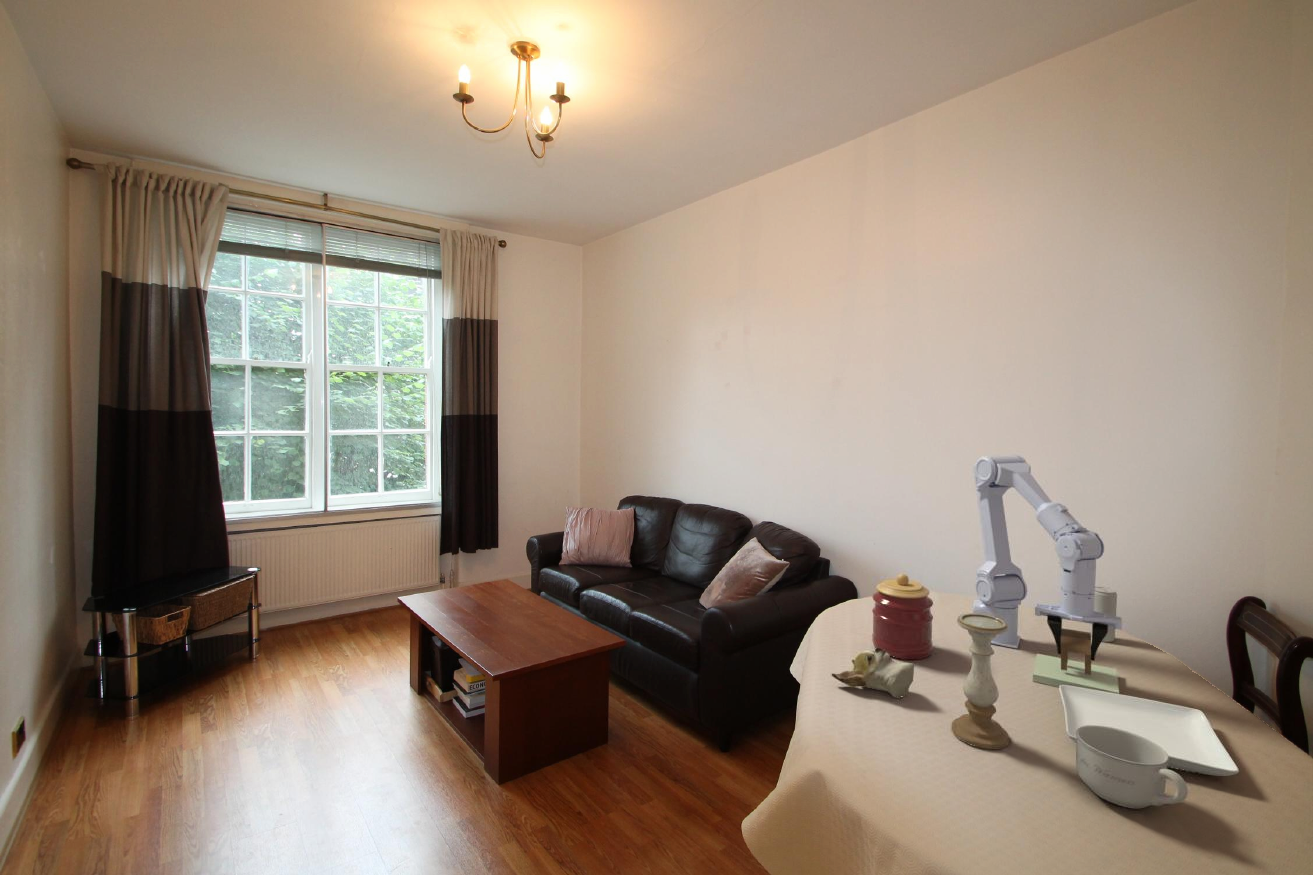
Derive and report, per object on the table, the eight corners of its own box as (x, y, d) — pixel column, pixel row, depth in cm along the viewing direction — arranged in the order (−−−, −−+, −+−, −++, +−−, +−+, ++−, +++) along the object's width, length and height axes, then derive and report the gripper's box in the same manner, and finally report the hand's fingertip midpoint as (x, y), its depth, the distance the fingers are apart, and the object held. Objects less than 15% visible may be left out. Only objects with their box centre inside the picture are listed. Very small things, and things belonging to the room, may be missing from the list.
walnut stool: (1060, 669, 124) (1060, 635, 124) (1062, 660, 128) (1061, 628, 128) (1091, 674, 121) (1090, 640, 121) (1091, 665, 125) (1090, 632, 125)
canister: (936, 644, 143) (937, 571, 142) (927, 665, 132) (928, 586, 131) (878, 633, 150) (879, 563, 148) (865, 653, 139) (866, 577, 138)
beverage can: (1106, 635, 147) (1108, 586, 146) (1120, 643, 142) (1121, 592, 141) (1085, 634, 147) (1087, 586, 147) (1098, 642, 143) (1099, 592, 142)
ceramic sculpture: (902, 664, 113) (828, 647, 123) (904, 710, 113) (830, 689, 123) (923, 647, 121) (852, 632, 131) (925, 690, 121) (854, 672, 131)
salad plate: (1057, 698, 118) (1058, 680, 118) (1201, 726, 107) (1202, 707, 107) (1067, 754, 100) (1067, 734, 99) (1241, 795, 89) (1242, 772, 89)
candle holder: (987, 755, 99) (990, 634, 98) (940, 729, 107) (942, 617, 105) (1020, 741, 103) (1023, 624, 102) (972, 717, 111) (974, 608, 109)
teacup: (1057, 774, 94) (1058, 724, 93) (1122, 769, 95) (1124, 719, 94) (1135, 839, 80) (1137, 780, 80) (1210, 832, 81) (1213, 775, 81)
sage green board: (1032, 681, 124) (1032, 674, 124) (1036, 660, 134) (1037, 653, 134) (1118, 700, 116) (1119, 692, 116) (1116, 676, 126) (1116, 669, 126)
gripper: (1034, 589, 125) (1032, 654, 126) (1123, 602, 116) (1120, 671, 117) (1036, 580, 130) (1035, 642, 131) (1121, 592, 122) (1119, 658, 123)
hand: (1075, 655), depth 125 cm, fingers closed on walnut stool, 5 cm apart
